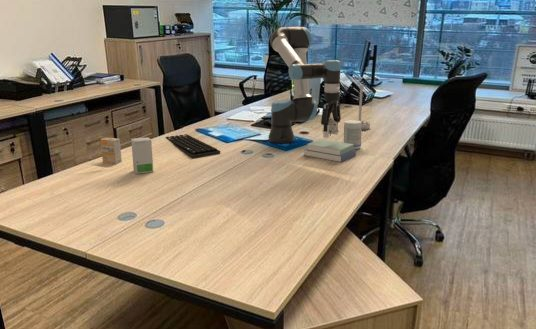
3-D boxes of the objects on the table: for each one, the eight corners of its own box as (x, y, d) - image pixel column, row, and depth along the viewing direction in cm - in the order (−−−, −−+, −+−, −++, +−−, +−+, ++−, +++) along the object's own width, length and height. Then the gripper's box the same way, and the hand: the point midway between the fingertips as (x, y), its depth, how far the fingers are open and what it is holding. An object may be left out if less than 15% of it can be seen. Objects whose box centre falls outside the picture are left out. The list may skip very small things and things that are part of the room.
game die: (341, 135, 232) (341, 116, 229) (336, 138, 225) (336, 119, 222) (324, 133, 236) (325, 115, 233) (319, 137, 228) (319, 117, 226)
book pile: (303, 155, 234) (304, 144, 232) (319, 149, 246) (319, 138, 244) (341, 162, 221) (341, 150, 219) (355, 155, 233) (356, 144, 231)
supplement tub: (364, 148, 247) (365, 122, 243) (351, 150, 242) (353, 124, 238) (352, 144, 255) (353, 119, 250) (339, 147, 250) (340, 121, 245)
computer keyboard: (162, 142, 264) (162, 136, 263) (187, 139, 272) (187, 133, 271) (192, 160, 228) (192, 153, 227) (220, 155, 236) (220, 148, 235)
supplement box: (102, 164, 220) (99, 139, 217) (109, 162, 225) (106, 137, 221) (116, 166, 218) (113, 140, 214) (122, 163, 222) (119, 138, 218)
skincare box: (136, 174, 205) (132, 141, 201) (133, 170, 211) (130, 138, 206) (154, 171, 209) (151, 139, 204) (151, 168, 215) (148, 136, 210)
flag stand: (371, 132, 283) (374, 85, 275) (350, 132, 284) (353, 85, 275) (367, 128, 296) (369, 82, 287) (347, 128, 296) (349, 83, 287)
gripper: (327, 94, 214) (326, 140, 220) (348, 90, 230) (346, 132, 236) (314, 93, 218) (313, 138, 224) (335, 89, 234) (334, 131, 241)
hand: (330, 135), depth 230 cm, fingers closed on game die, 9 cm apart
